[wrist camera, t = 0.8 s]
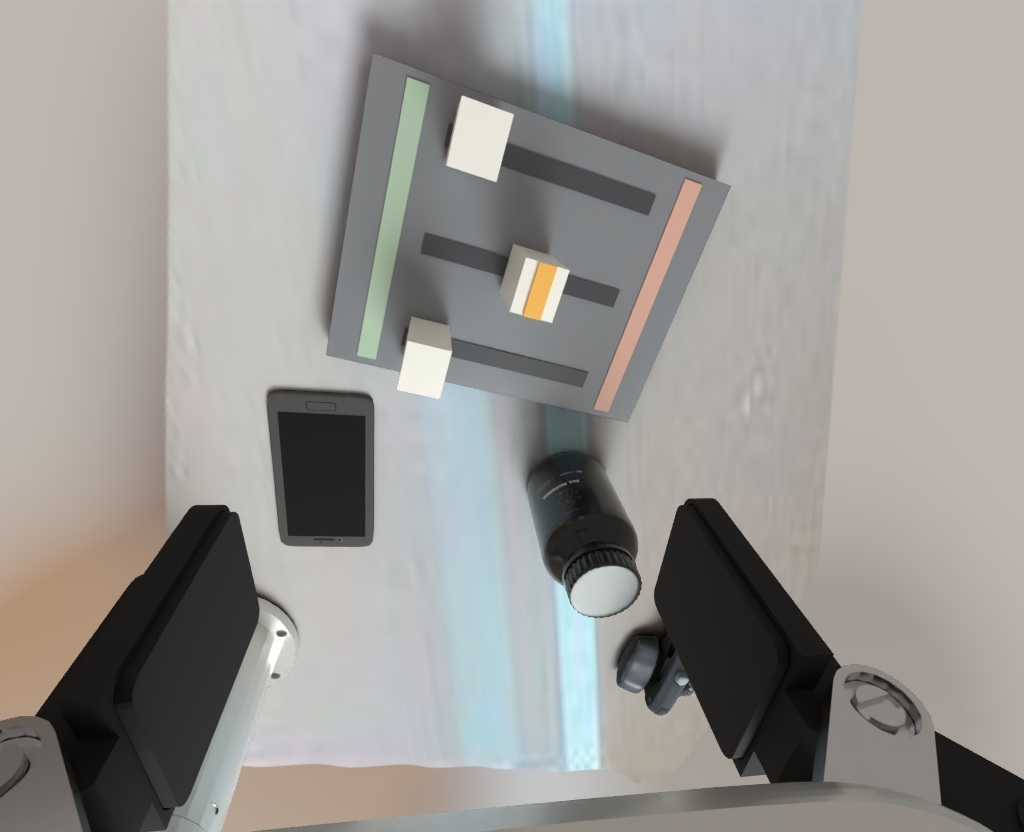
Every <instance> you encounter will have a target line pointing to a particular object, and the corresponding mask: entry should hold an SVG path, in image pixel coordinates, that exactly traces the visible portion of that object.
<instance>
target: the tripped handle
mask: <svg viewBox="0 0 1024 832" xmlns="http://www.w3.org/2000/svg"><path fill="white" fill-rule="evenodd" d="M569 271H570V270H569V269H568V268H566V267H565V266H564V265H563V264H561V263H560V262H559V261H558V260H556V259H555V258H554V257H553V256H551V255H549V254H546V253H542V252H539V251H536V250H532V249H529V248H526V247H522V246H519V245H516V244H513V246H512V250H511V253H510V257H509V260H508V264H507V267H506V271H505V274H504V278H503V281H502V285H501V288H500V293H501V295H502V297H503V299H504V301H505V303H506V305H507V307H508V309H509V311H510V312H512V313H516V314H520V315H523V316H524V317H528V318H532V319H536V320H539V321H540V320H542V321H546V322H550V323H552V322H553V319H554V316H555V313H556V310H557V307H558V304H559V301H560V298H561V295H562V292H563V289H564V286H565V283H566V280H567V277H568V274H569Z"/></svg>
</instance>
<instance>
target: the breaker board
mask: <svg viewBox="0 0 1024 832" xmlns="http://www.w3.org/2000/svg"><path fill="white" fill-rule="evenodd" d="M462 96H465V97H468V98H471V99H473V100H476V101H479V102H481V103H484V104H487V105H490V106H492V107H495V108H498V109H501V110H503V111H506V112H509V113H511V114H514V116H513V120H512V124H511V128H510V132H509V136H508V139H507V143H506V147H505V151H504V155H503V159H502V162H501V166H500V170H499V174H498V178H497V182H494V181H491V180H488V179H485V178H482V177H479V176H476V175H473V174H470V173H467V172H464V171H461V170H458V169H455V168H452V167H449V166H446V165H445V162H446V157H447V153H448V148H449V144H450V139H451V135H452V130H453V125H454V121H455V116H456V112H457V107H458V104H459V102H460V99H461V97H462ZM730 188H731V186H730V185H727V184H724V183H722V182H719V181H716V180H713V179H711V178H708V177H705V176H703V175H700V174H697V173H695V172H692V171H689V170H687V169H684V168H681V167H679V166H676V165H673V164H670V163H668V162H665V161H662V160H660V159H657V158H654V157H652V156H649V155H646V154H644V153H641V152H638V151H636V150H633V149H630V148H627V147H625V146H622V145H619V144H617V143H614V142H611V141H609V140H606V139H603V138H601V137H598V136H595V135H593V134H590V133H587V132H584V131H582V130H579V129H576V128H574V127H571V126H568V125H566V124H563V123H560V122H558V121H555V120H552V119H549V118H547V117H544V116H541V115H539V114H536V113H533V112H531V111H528V110H525V109H523V108H520V107H517V106H515V105H512V104H509V103H506V102H504V101H501V100H498V99H496V98H493V97H490V96H488V95H485V94H482V93H480V92H477V91H474V90H472V89H469V88H466V87H463V86H461V85H458V84H455V83H453V82H450V81H447V80H445V79H442V78H439V77H437V76H434V75H431V74H428V73H426V72H423V71H420V70H418V69H415V68H412V67H410V66H407V65H404V64H402V63H399V62H396V61H394V60H391V59H388V58H385V57H383V56H380V55H377V54H375V53H373V54H372V61H371V67H370V74H369V80H368V87H367V93H366V100H365V106H364V113H363V119H362V125H361V132H360V138H359V145H358V151H357V158H356V164H355V171H354V177H353V184H352V190H351V197H350V203H349V210H348V216H347V222H346V229H345V235H344V242H343V248H342V255H341V261H340V268H339V274H338V281H337V287H336V294H335V300H334V307H333V313H332V320H331V326H330V332H329V339H328V345H327V352H326V355H327V356H332V357H336V358H341V359H345V360H350V361H354V362H359V363H363V364H368V365H372V366H377V367H381V368H385V369H390V370H394V371H399V372H400V368H401V362H402V357H403V353H404V348H405V344H406V339H407V335H408V330H409V325H410V321H411V316H412V317H416V318H420V319H424V320H428V321H432V322H436V323H440V324H444V325H448V326H450V332H451V344H452V354H451V358H450V362H449V365H448V369H447V373H446V377H445V381H444V382H448V383H453V384H457V385H462V386H466V387H471V388H475V389H480V390H484V391H489V392H493V393H498V394H502V395H507V396H511V397H516V398H520V399H525V400H529V401H534V402H538V403H542V404H547V405H551V406H556V407H560V408H565V409H569V410H574V411H578V412H583V413H587V414H592V415H596V416H601V417H605V418H610V419H614V420H619V421H623V422H628V421H629V419H630V417H631V414H632V412H633V410H634V408H635V405H636V403H637V401H638V398H639V396H640V394H641V392H642V389H643V387H644V385H645V382H646V380H647V378H648V376H649V373H650V371H651V369H652V366H653V364H654V362H655V360H656V357H657V355H658V353H659V350H660V348H661V346H662V343H663V341H664V339H665V337H666V334H667V332H668V330H669V327H670V325H671V323H672V321H673V318H674V316H675V314H676V311H677V309H678V307H679V305H680V302H681V300H682V298H683V295H684V293H685V291H686V288H687V286H688V284H689V282H690V279H691V277H692V275H693V272H694V270H695V268H696V266H697V263H698V261H699V259H700V256H701V254H702V252H703V250H704V247H705V245H706V243H707V240H708V238H709V236H710V233H711V231H712V229H713V227H714V224H715V222H716V220H717V217H718V215H719V213H720V211H721V208H722V206H723V204H724V201H725V199H726V197H727V195H728V192H729V190H730ZM513 244H516V245H519V246H522V247H526V248H529V249H532V250H536V251H539V252H542V253H546V254H549V255H551V256H553V257H554V258H555V259H556V260H558V261H559V262H560V263H561V264H563V265H564V266H565V267H566V268H568V269H569V270H570V271H569V274H568V277H567V280H566V283H565V286H564V289H563V292H562V295H561V298H560V301H559V304H558V307H557V310H556V313H555V316H554V319H553V322H552V323H550V322H546V321H542V320H540V321H539V320H536V319H532V318H528V317H524V316H523V315H520V314H516V313H512V312H510V311H509V309H508V307H507V305H506V303H505V301H504V299H503V297H502V295H501V293H500V288H501V285H502V281H503V278H504V274H505V271H506V267H507V264H508V260H509V257H510V253H511V250H512V246H513Z"/></svg>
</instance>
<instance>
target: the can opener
mask: <svg viewBox="0 0 1024 832" xmlns="http://www.w3.org/2000/svg"><path fill="white" fill-rule="evenodd" d="M616 681H617V685H618V686H619V687H621V688H623V689H626V690H628V691H630V692H633V693H639V692H640V691H641V690H643V689H644V691H645V701H646V704H647V706H648V708H649V709H650V710H651V711H652V712H654V713H655V714H657V715H664V714H666V713H668V712H669V711H670V710H671V708H672V706H673V705H674V703H675V702H676V700H677V698H678V697H680V696H685V697H686V695H688V696H693V695H694V693H695V691H694V689H693V687H692V685H691V683H690V680H689V678H688V676H687V674H686V671H685V669H684V667H683V665H682V663H681V660H680V658H679V656H678V654H677V652H676V649H675V647H674V645H673V643H672V641H671V638H670V636H669V634H668V632H667V634H666V636H665V638H664V639H663V640H662V642H661V643H660V644H659V642H658V638H657V637H656V636H642V635H637V636H635V637H634V638H632V640H631V641H630V642H629V644H628V645H627V647H626V648H625V650H624V652H623V654H622V657H621V659H620V662H619V666H618V671H617V680H616Z"/></svg>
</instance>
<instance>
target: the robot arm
mask: <svg viewBox="0 0 1024 832" xmlns="http://www.w3.org/2000/svg"><path fill="white" fill-rule="evenodd" d="M654 600H655V605H656V607H657V610H658V612H659V614H660V616H661V619H662V621H663V623H664V625H665V627H666V630H667V632H668V634H669V636H670V638H671V641H672V643H673V645H674V647H675V649H676V652H677V654H678V656H679V658H680V660H681V663H682V665H683V667H684V669H685V671H686V674H687V676H688V678H689V680H690V683H691V685H692V687H693V689H694V691H695V694H696V696H697V698H698V700H699V702H700V705H701V707H702V709H703V711H704V713H705V716H706V718H707V720H708V722H709V724H710V727H711V729H712V731H713V733H714V735H715V738H716V740H717V742H718V744H719V746H720V749H721V751H722V752H723V754H724V755H725V756H726V757H727V758H728V759H733V762H734V764H735V766H736V768H737V770H738V772H739V774H740V776H741V777H745V776H756V775H767V777H768V779H769V781H770V783H771V784H757V785H743V786H729V787H714V788H702V789H691V790H680V791H669V792H658V793H648V794H635V795H625V796H614V797H602V798H591V799H579V800H569V801H559V802H548V803H538V804H526V805H517V806H505V807H494V808H484V809H475V810H474V809H473V810H463V811H453V812H443V813H433V814H421V815H411V816H401V817H391V818H381V819H371V820H361V821H352V822H342V823H332V824H321V825H312V826H302V827H292V828H281V829H272V830H261V831H253V832H1024V780H1023V779H1021V778H1020V777H1018V776H1016V775H1014V774H1013V773H1011V772H1009V771H1007V770H1005V769H1003V768H1001V767H1000V766H998V765H996V764H994V763H992V762H991V761H989V760H986V759H985V758H983V757H981V756H980V755H978V754H976V753H974V752H972V751H970V750H969V749H967V748H965V747H963V746H961V745H959V744H957V743H956V742H954V741H952V740H950V739H948V738H947V737H945V736H943V735H941V734H939V733H937V732H936V731H934V726H933V723H932V720H931V716H930V714H929V713H928V711H927V710H926V708H925V707H924V705H923V703H922V702H921V701H920V700H919V699H918V698H917V697H916V696H915V695H914V694H913V692H912V691H911V690H910V689H908V688H907V687H906V686H904V685H903V684H902V683H900V682H899V681H898V680H897V679H895V678H893V677H892V676H890V675H888V674H886V673H884V672H883V671H880V670H878V669H875V668H872V667H869V666H865V665H859V664H851V665H845V666H843V667H841V666H840V665H839V664H838V662H837V661H836V659H835V658H834V657H833V655H834V654H833V653H832V651H831V650H830V649H829V648H828V646H827V645H826V644H825V642H824V641H823V640H822V638H821V637H820V636H819V634H818V633H817V632H816V630H815V629H814V628H813V626H812V625H811V624H810V622H809V621H808V620H807V619H806V617H805V616H804V615H803V613H802V612H801V611H800V609H799V608H798V607H797V605H796V604H795V603H794V601H793V600H792V599H791V597H790V596H789V595H788V593H787V592H786V591H785V589H784V588H783V587H782V586H781V584H780V583H779V582H778V580H777V579H776V578H775V576H774V575H773V574H772V572H771V571H770V570H769V568H768V567H767V566H766V564H765V563H764V562H763V560H762V559H761V558H760V557H759V555H758V554H757V553H756V551H755V550H754V549H753V547H752V546H751V545H750V543H749V542H748V541H747V539H746V538H745V537H744V535H743V534H742V533H741V531H740V530H739V529H738V528H737V526H736V525H735V524H734V522H733V521H732V520H731V518H730V517H729V516H728V514H727V513H726V512H725V510H724V509H723V508H722V506H721V505H720V504H719V502H718V501H717V500H715V499H713V498H697V499H687V500H686V502H685V503H684V505H681V506H679V507H678V509H677V512H676V515H675V519H674V522H673V526H672V530H671V533H670V537H669V540H668V544H667V547H666V551H665V555H664V558H663V562H662V565H661V569H660V572H659V576H658V580H657V583H656V587H655V591H654ZM298 646H299V639H298V633H297V631H296V628H295V626H294V624H293V623H292V621H291V620H290V619H289V617H288V616H287V615H286V614H285V613H284V612H283V611H281V610H280V609H279V608H278V607H276V606H275V605H273V604H272V603H270V602H268V601H267V600H264V599H262V598H260V597H257V593H256V589H255V585H254V580H253V576H252V572H251V567H250V563H249V558H248V554H247V550H246V545H245V541H244V537H243V532H242V528H241V524H240V519H239V516H238V514H237V513H236V512H230V511H229V508H228V507H227V506H226V505H195V506H192V507H191V508H190V509H189V510H188V512H187V513H186V514H185V516H184V517H183V519H182V520H181V522H180V523H179V524H178V526H177V527H176V529H175V530H174V532H173V533H172V534H171V536H170V537H169V539H168V540H167V541H166V543H165V544H164V546H163V547H162V549H161V550H160V551H159V553H158V554H157V556H156V557H155V559H154V560H153V561H152V563H151V564H150V566H149V567H148V569H147V570H146V571H145V573H144V574H143V575H140V576H139V577H137V578H135V579H134V580H133V581H132V582H131V584H130V585H129V586H128V587H127V589H126V590H125V591H124V593H123V594H122V596H121V597H120V599H119V600H118V601H117V602H116V604H115V605H114V607H113V608H112V609H111V611H110V612H109V614H108V615H107V617H106V618H105V619H104V621H103V622H102V623H101V625H100V626H99V628H98V629H97V631H96V632H95V633H94V635H93V636H92V637H91V639H90V640H89V642H88V643H87V644H86V646H85V647H84V648H83V650H82V651H81V653H80V654H79V655H78V657H77V658H76V660H75V661H74V662H73V664H72V665H71V666H70V668H69V669H68V671H67V672H66V673H65V675H64V676H63V678H62V679H61V680H60V682H59V683H58V685H57V686H56V687H55V689H54V690H53V691H52V693H51V694H50V696H49V697H48V699H47V700H46V701H45V703H44V704H43V705H42V707H41V708H40V710H39V711H38V712H37V714H36V715H35V716H20V717H15V718H11V719H7V720H2V721H0V832H221V831H222V828H223V825H224V822H225V818H226V815H227V812H228V809H229V806H230V803H231V800H232V797H233V793H234V790H235V787H236V784H237V781H238V778H239V775H240V772H241V769H242V766H243V762H244V759H245V756H246V753H247V750H248V747H249V744H250V741H251V737H252V734H253V731H254V728H255V725H256V722H257V719H258V716H259V712H260V709H261V706H262V703H263V700H264V697H265V694H266V691H267V688H268V687H270V686H272V685H274V684H275V683H277V682H278V681H280V680H281V679H282V678H283V677H284V676H285V675H286V674H287V673H288V672H289V671H290V669H291V668H292V666H293V665H294V662H295V659H296V655H297V652H298Z"/></svg>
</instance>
